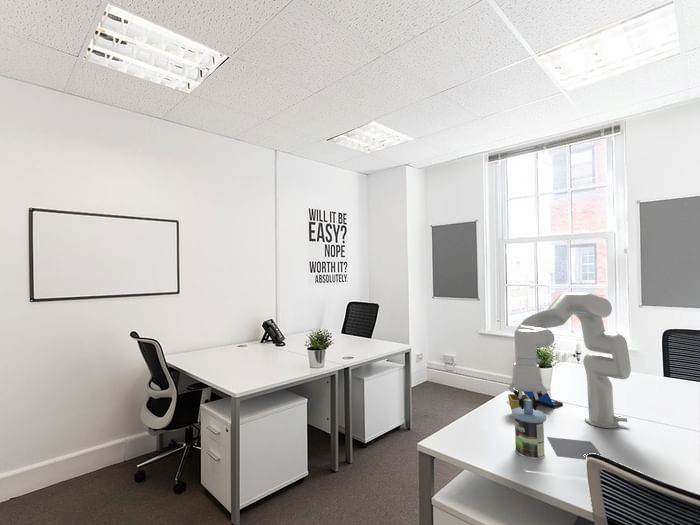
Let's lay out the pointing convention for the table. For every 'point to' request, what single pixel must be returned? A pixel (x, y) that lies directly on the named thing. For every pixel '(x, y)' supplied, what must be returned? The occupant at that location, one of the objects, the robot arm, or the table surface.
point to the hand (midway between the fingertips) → (528, 408)
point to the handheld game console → (544, 400)
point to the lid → (528, 413)
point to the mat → (572, 448)
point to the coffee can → (529, 439)
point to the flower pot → (515, 400)
